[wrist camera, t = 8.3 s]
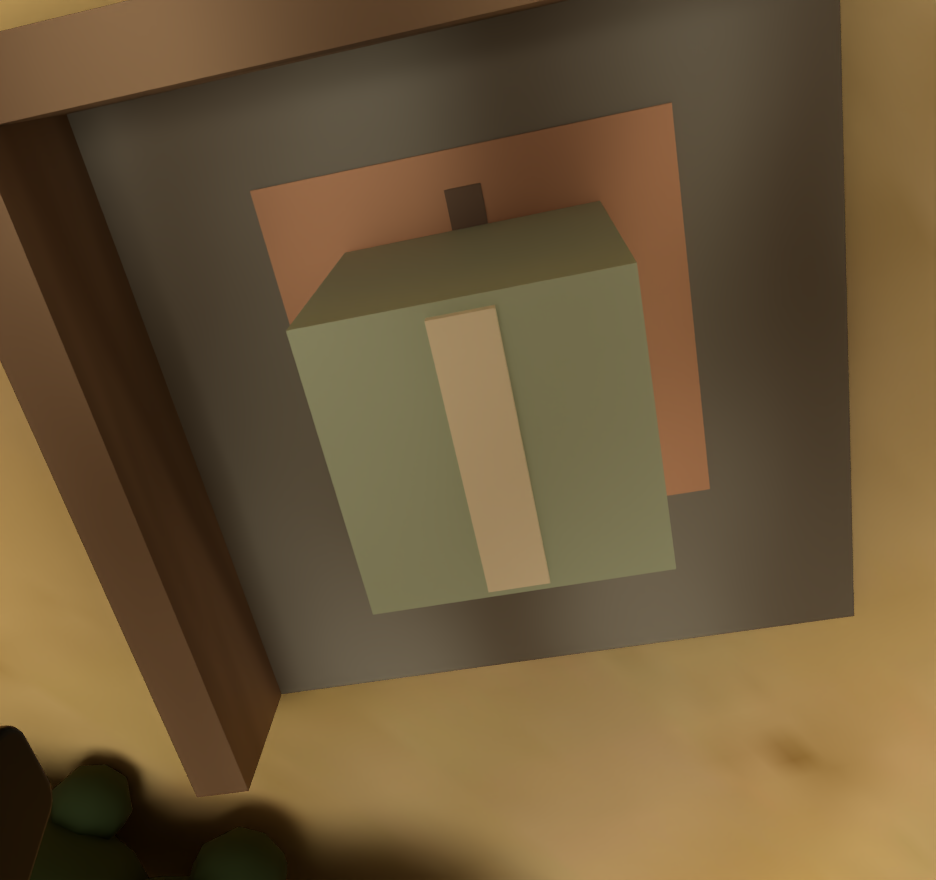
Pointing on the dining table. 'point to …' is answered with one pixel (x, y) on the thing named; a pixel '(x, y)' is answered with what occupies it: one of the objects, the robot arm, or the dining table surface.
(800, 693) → the dining table surface
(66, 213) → the arena
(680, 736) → the dining table surface
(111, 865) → the toy figurine
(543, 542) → the cube
